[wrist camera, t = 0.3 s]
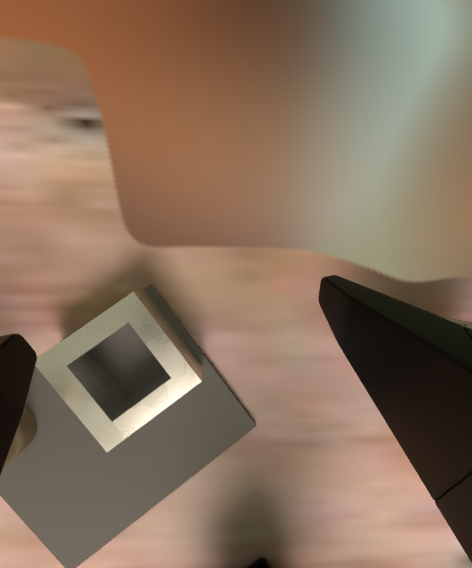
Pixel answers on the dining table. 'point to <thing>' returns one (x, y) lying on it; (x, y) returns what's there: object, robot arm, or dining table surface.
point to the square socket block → (97, 383)
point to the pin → (23, 435)
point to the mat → (116, 450)
